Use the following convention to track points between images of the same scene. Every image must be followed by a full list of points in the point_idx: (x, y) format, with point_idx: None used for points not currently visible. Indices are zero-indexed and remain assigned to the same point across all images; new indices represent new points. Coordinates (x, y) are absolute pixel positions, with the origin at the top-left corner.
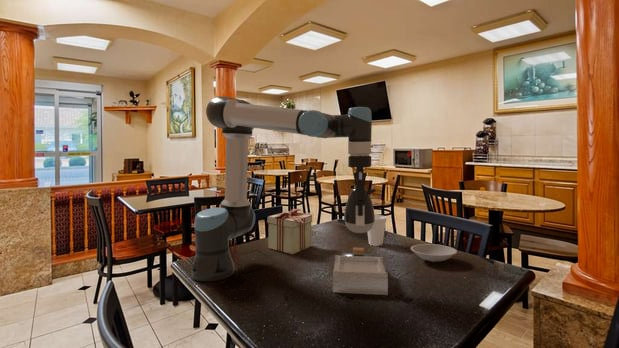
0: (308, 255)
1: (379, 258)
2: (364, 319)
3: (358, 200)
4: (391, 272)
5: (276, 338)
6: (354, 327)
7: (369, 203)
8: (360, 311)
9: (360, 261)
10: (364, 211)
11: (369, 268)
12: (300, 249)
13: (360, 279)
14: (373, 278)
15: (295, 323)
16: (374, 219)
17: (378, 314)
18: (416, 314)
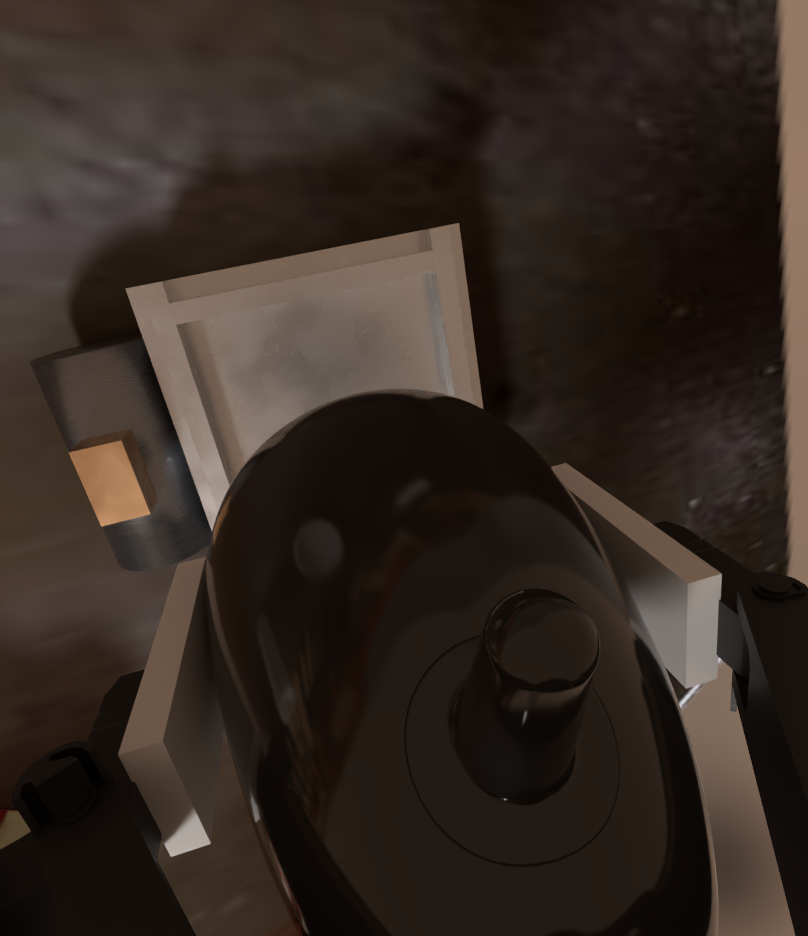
0: (57, 744)
1: (185, 305)
2: (657, 307)
3: (747, 708)
4: (98, 221)
5: (773, 535)
6: (709, 334)
7: (576, 542)
8: (604, 333)
9: (220, 429)
10: (659, 531)
11: (323, 353)
12: (2, 817)
13: (477, 376)
14: (465, 308)
15: (702, 520)
16: (418, 394)
17: (616, 256)
18: (592, 74)
